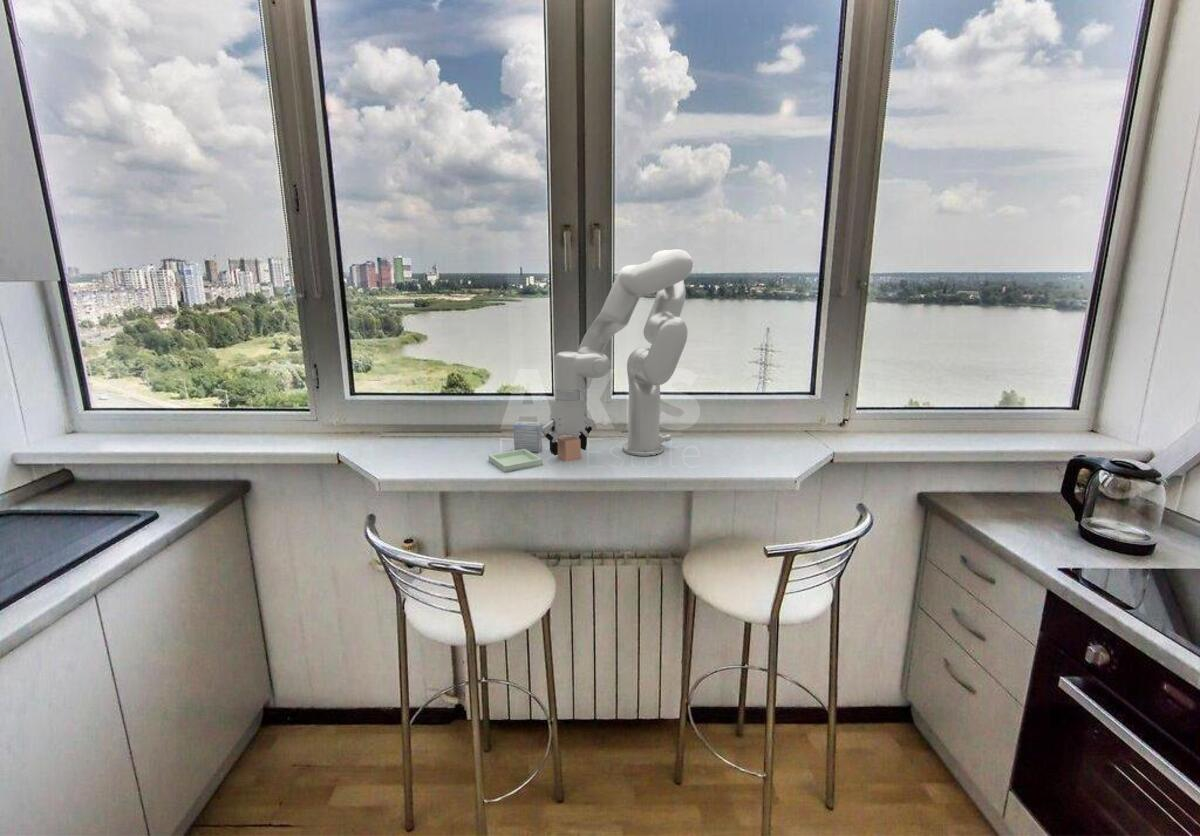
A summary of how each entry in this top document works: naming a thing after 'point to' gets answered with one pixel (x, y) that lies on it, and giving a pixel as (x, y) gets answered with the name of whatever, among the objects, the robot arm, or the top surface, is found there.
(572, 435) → the grey tub
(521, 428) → the medicine box
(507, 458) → the tray
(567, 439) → the terracotta block
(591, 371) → the robot arm
